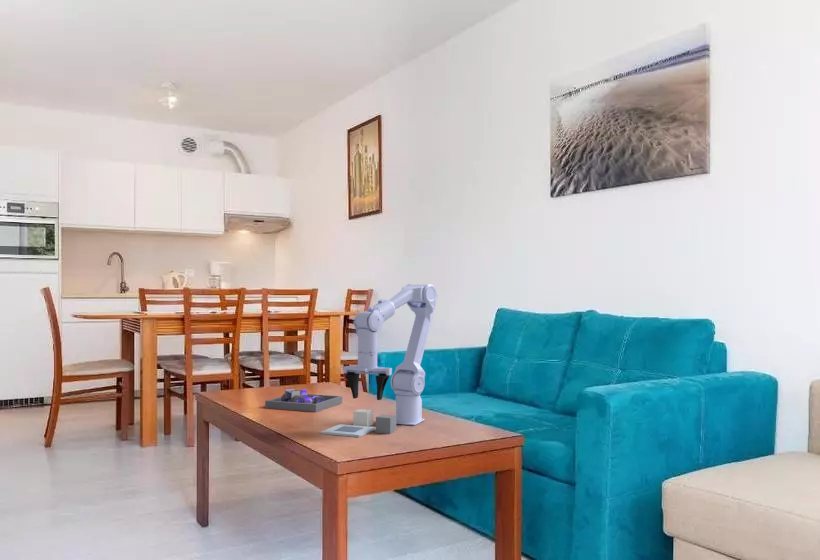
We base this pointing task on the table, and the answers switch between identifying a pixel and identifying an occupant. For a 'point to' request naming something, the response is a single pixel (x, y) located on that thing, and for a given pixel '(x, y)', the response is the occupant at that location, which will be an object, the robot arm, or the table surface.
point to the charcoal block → (386, 424)
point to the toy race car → (300, 397)
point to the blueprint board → (348, 430)
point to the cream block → (363, 417)
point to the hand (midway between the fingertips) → (367, 398)
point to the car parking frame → (304, 404)
